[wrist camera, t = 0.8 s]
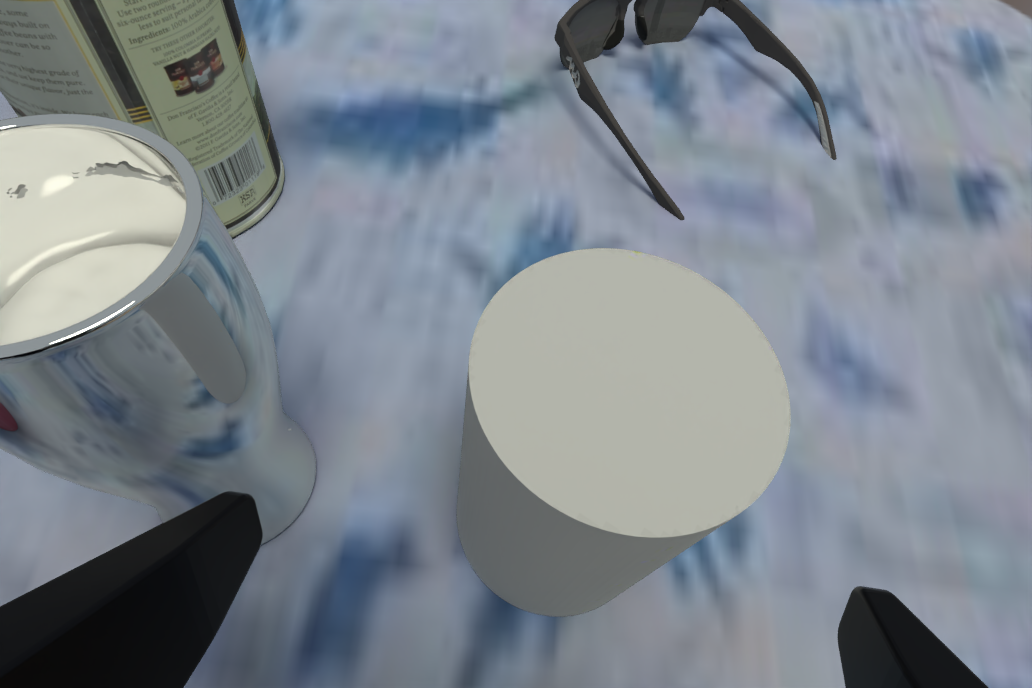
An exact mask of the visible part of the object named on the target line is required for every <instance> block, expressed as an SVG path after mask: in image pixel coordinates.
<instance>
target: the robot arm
mask: <svg viewBox="0 0 1032 688" xmlns="http://www.w3.org/2000/svg"><path fill="white" fill-rule="evenodd" d="M262 537H263V531H262V526H261V522H260V518H259V514H258V510H257V506H256V502H255V499H254V498H253V497H252V495H250V494H247V493H241V492H234V491H226V492H223V493H221V494H219V495H217V496H215V497H213V498H211V499H209V500H207V501H205V502H203V503H201V504H199V505H198V506H196V507H194V508H192V509H190V510H188V511H186V512H184V513H182V514H180V515H178V516H176V517H174V518H172V519H170V520H168V521H166V522H164V523H162V524H161V525H159V526H157V527H155V528H153V529H151V530H149V531H147V532H145V533H143V534H141V535H139V536H137V537H135V538H133V539H131V540H129V541H127V542H125V543H123V544H122V545H120V546H118V547H116V548H114V549H112V550H110V551H108V552H106V553H104V554H102V555H100V556H98V557H96V558H94V559H92V560H90V561H88V562H86V563H84V564H83V565H81V566H79V567H77V568H75V569H73V570H71V571H69V572H67V573H65V574H63V575H61V576H59V577H57V578H55V579H53V580H51V581H49V582H47V583H45V584H43V585H42V586H40V587H38V588H36V589H34V590H32V591H30V592H28V593H26V594H24V595H22V596H20V597H18V598H16V599H14V600H12V601H10V602H8V603H6V604H4V605H2V606H1V607H0V688H184V686H185V684H186V683H187V681H188V679H189V678H190V676H191V675H192V673H193V671H194V670H195V668H196V667H197V665H198V663H199V662H200V660H201V659H202V657H203V655H204V654H205V652H206V650H207V649H208V647H209V645H210V644H211V642H212V640H213V639H214V637H215V635H216V633H217V631H218V630H219V628H220V626H221V624H222V622H223V620H224V618H225V616H226V614H227V612H228V610H229V608H230V606H231V604H232V602H233V600H234V598H235V596H236V594H237V592H238V590H239V588H240V586H241V584H242V582H243V580H244V578H245V576H246V574H247V572H248V570H249V568H250V566H251V564H252V562H253V560H254V558H255V556H256V554H257V552H258V550H259V548H260V545H261V542H262ZM838 646H839V651H840V657H841V663H842V669H843V675H844V680H845V686H846V688H988V687H987V686H986V685H985V684H984V683H983V682H982V681H981V680H980V679H979V678H978V677H977V676H976V675H975V674H974V673H973V672H972V671H971V670H970V669H969V668H968V667H967V666H966V665H965V664H964V663H963V662H962V661H961V660H960V659H959V658H958V657H957V656H956V655H955V654H954V653H953V652H952V651H951V650H950V649H949V648H948V647H947V646H946V645H945V644H944V643H943V642H942V641H940V640H939V639H938V638H937V637H936V636H935V635H934V634H933V633H932V632H931V631H930V630H929V629H928V628H927V627H926V626H925V625H924V624H923V623H922V622H921V621H920V620H919V619H918V618H917V617H916V616H915V615H914V614H913V613H912V612H911V611H910V610H909V609H908V608H907V607H906V606H905V605H904V604H903V603H902V602H901V601H900V600H899V599H898V598H897V597H896V596H895V595H893V594H892V593H891V592H889V591H886V590H882V589H876V588H869V587H862V586H859V587H856V588H855V589H853V591H852V593H851V595H850V597H849V600H848V603H847V605H846V608H845V611H844V613H843V616H842V618H841V621H840V624H839V628H838Z"/></svg>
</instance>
